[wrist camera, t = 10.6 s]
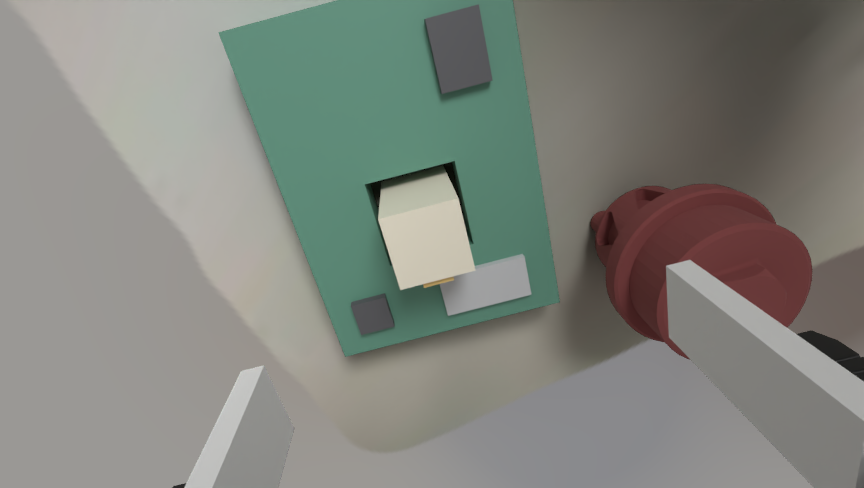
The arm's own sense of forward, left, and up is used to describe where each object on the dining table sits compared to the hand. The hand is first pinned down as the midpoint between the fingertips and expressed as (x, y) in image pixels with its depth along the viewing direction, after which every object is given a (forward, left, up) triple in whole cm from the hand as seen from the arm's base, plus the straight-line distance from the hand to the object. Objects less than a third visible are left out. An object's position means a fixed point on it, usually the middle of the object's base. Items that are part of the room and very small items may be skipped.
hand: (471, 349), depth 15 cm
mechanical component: (+7, +14, -19) cm, 25 cm away
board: (-1, -1, -19) cm, 19 cm away
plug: (+1, -1, -19) cm, 19 cm away
